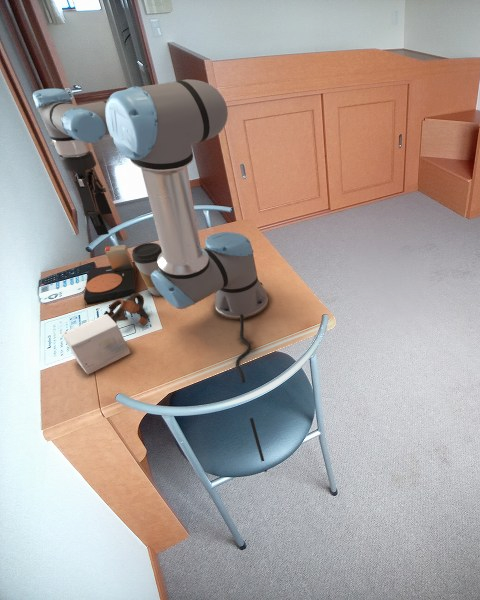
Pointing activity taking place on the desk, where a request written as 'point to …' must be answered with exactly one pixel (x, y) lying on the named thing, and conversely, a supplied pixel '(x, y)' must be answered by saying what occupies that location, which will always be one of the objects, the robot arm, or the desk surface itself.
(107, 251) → the cream block
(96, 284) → the warming ring
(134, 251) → the coffee cup
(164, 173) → the robot arm
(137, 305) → the pottery mug
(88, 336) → the cosmetics box
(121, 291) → the hotplate
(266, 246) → the desk surface
